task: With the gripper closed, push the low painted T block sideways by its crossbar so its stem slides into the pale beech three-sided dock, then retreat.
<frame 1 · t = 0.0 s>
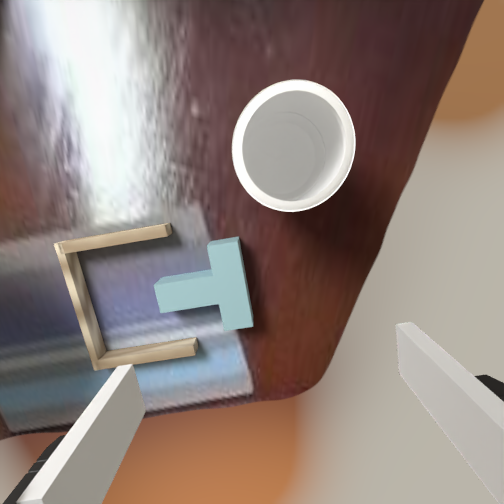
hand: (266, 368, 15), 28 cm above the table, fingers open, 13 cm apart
dock: (137, 294, 44), on the table
t block: (232, 279, 43), on the table
jar: (278, 161, 40), on the table
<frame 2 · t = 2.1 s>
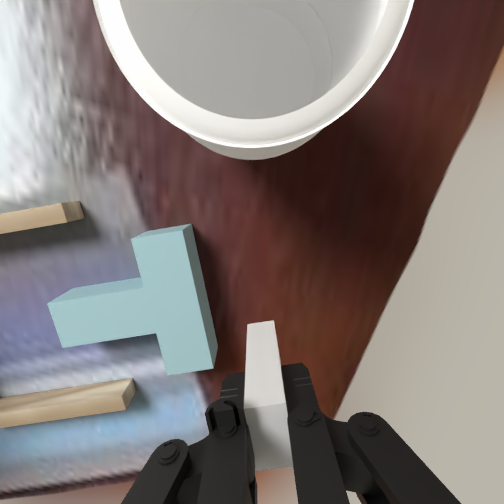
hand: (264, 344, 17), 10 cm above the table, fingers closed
dock: (37, 315, 28), on the table
t block: (184, 291, 28), on the table
jar: (253, 98, 24), on the table
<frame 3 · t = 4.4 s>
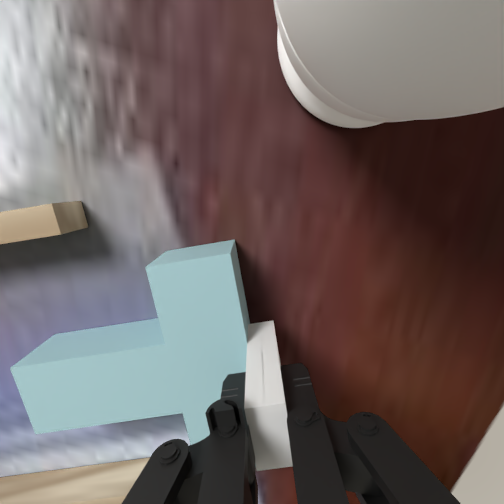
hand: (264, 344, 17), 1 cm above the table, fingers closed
dock: (16, 368, 19), on the table
t block: (220, 339, 19), on the table, touching gripper
jar: (358, 40, 15), on the table
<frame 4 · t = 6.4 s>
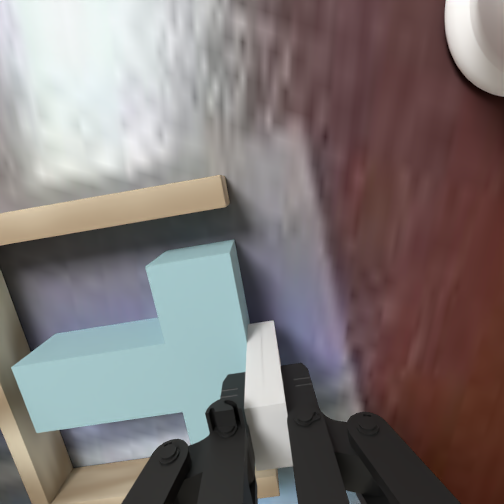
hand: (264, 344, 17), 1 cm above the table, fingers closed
dock: (143, 350, 19), on the table
t block: (220, 338, 19), on the table
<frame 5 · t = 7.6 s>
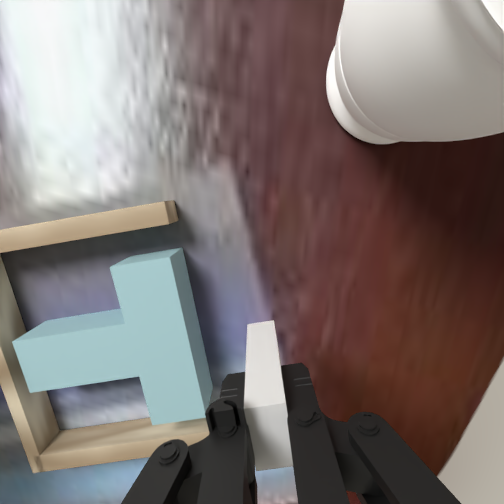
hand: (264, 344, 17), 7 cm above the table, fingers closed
dock: (114, 333, 24), on the table
t block: (173, 324, 24), on the table
jar: (385, 80, 21), on the table
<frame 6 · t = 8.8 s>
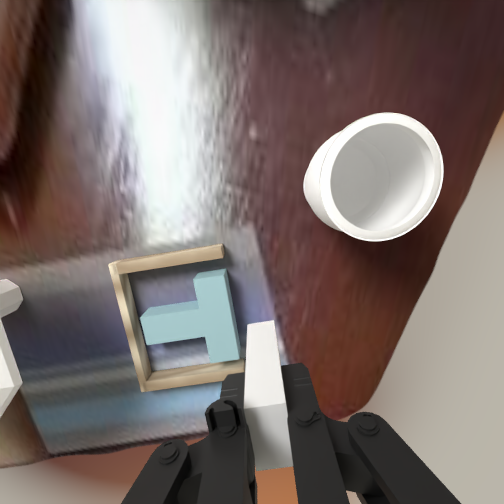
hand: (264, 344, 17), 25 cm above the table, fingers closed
dock: (186, 315, 43), on the table
t block: (219, 310, 43), on the table
jar: (334, 184, 40), on the table
table 2: (6, 295, 43), on the table
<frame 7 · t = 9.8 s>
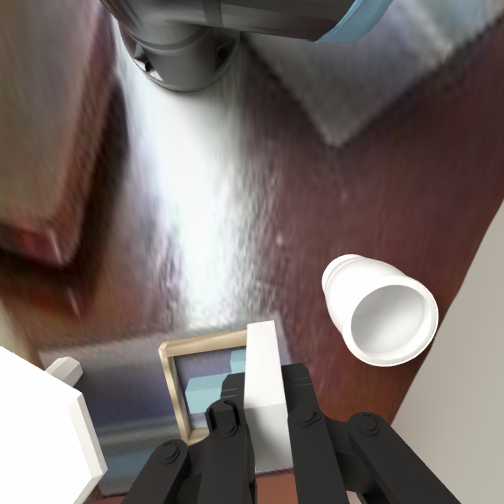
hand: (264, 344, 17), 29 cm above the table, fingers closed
dock: (221, 384, 51), on the table
t block: (249, 380, 51), on the table
jar: (347, 279, 47), on the table
table 2: (69, 369, 51), on the table
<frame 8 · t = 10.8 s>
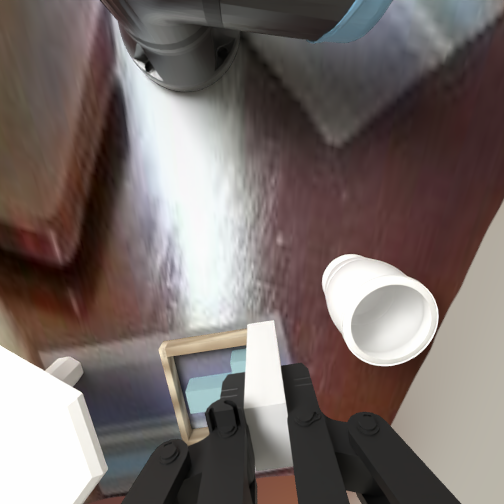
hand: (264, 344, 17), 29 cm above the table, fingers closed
dock: (221, 384, 51), on the table
t block: (250, 380, 51), on the table
jar: (347, 279, 47), on the table
table 2: (69, 368, 51), on the table
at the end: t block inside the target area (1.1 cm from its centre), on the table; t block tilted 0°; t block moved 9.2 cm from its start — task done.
